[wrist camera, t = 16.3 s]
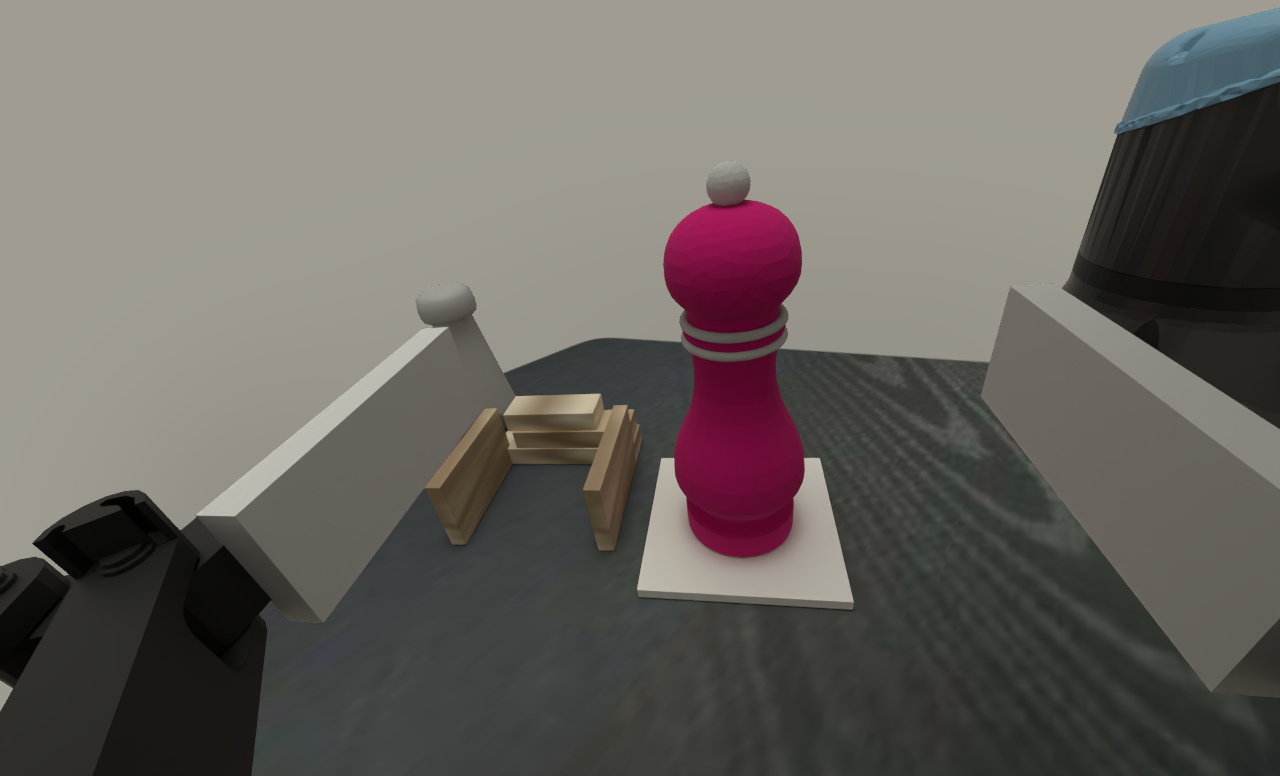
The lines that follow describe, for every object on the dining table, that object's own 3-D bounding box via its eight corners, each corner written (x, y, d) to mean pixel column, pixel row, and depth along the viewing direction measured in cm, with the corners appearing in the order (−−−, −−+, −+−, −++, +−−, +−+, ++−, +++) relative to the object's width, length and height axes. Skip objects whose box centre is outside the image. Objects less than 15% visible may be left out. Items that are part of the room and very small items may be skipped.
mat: (819, 464, 33) (819, 458, 33) (852, 609, 24) (853, 602, 24) (662, 464, 36) (661, 458, 35) (638, 596, 26) (637, 589, 26)
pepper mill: (661, 544, 28) (604, 184, 18) (705, 467, 34) (680, 154, 23) (785, 583, 25) (801, 171, 15) (812, 491, 30) (837, 140, 20)
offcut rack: (642, 439, 38) (633, 386, 36) (614, 550, 29) (599, 490, 27) (515, 440, 41) (498, 390, 38) (452, 544, 32) (424, 488, 29)
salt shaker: (453, 452, 40) (392, 308, 34) (459, 416, 45) (407, 284, 39) (522, 435, 41) (476, 291, 35) (521, 402, 46) (480, 270, 39)
